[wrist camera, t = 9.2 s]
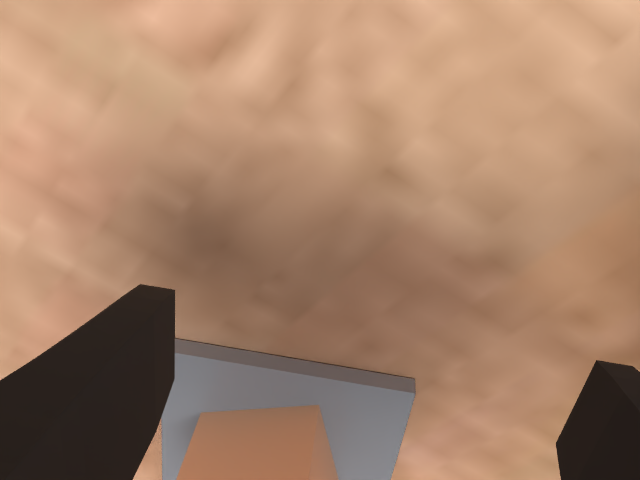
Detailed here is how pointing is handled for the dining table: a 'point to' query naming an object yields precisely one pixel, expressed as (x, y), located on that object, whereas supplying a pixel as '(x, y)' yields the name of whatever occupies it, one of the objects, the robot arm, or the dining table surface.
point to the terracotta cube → (260, 446)
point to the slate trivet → (289, 403)
